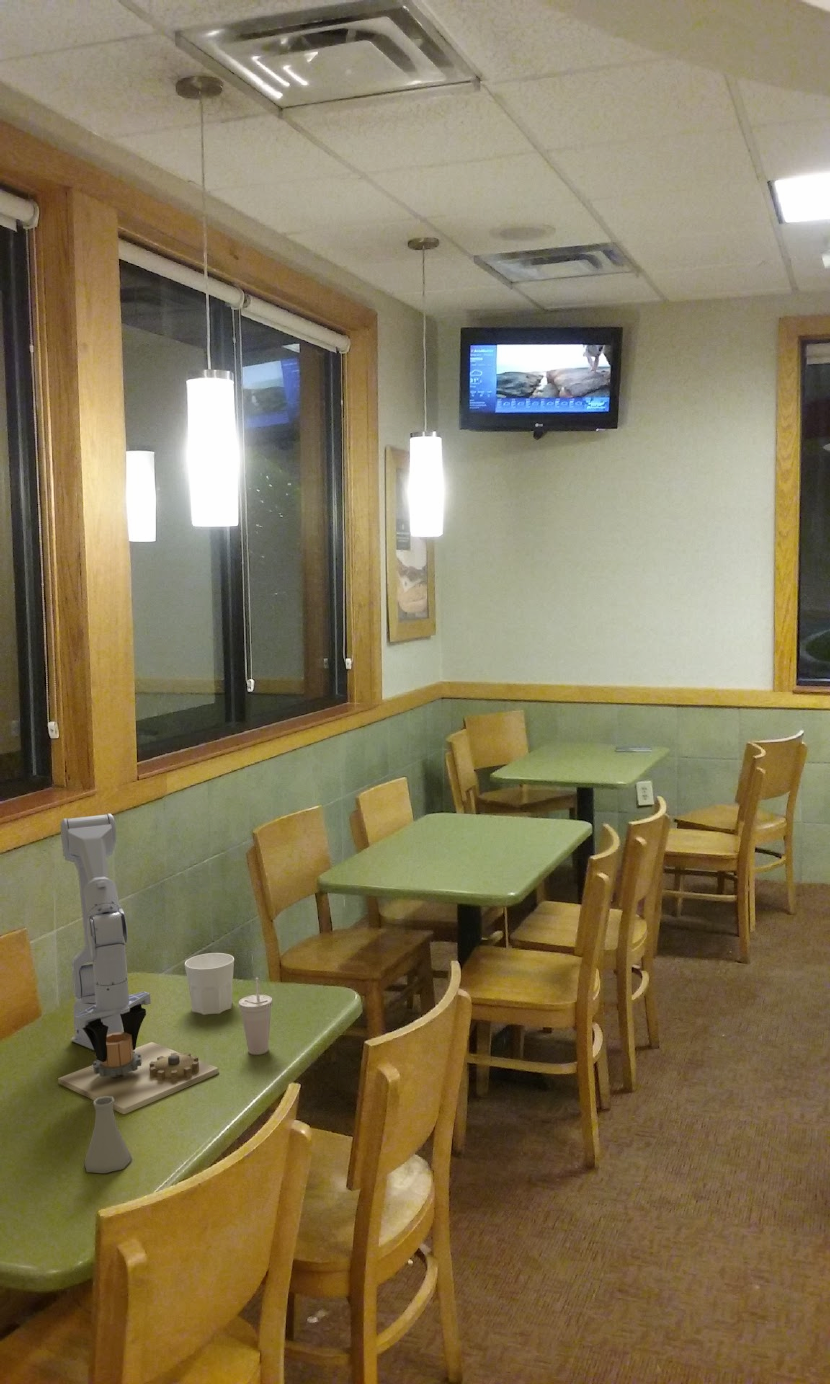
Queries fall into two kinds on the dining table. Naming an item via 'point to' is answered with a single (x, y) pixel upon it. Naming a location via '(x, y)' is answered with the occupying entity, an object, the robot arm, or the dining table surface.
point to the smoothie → (256, 1020)
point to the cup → (210, 982)
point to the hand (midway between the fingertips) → (116, 1054)
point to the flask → (106, 1141)
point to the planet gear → (118, 1056)
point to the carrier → (142, 1078)
